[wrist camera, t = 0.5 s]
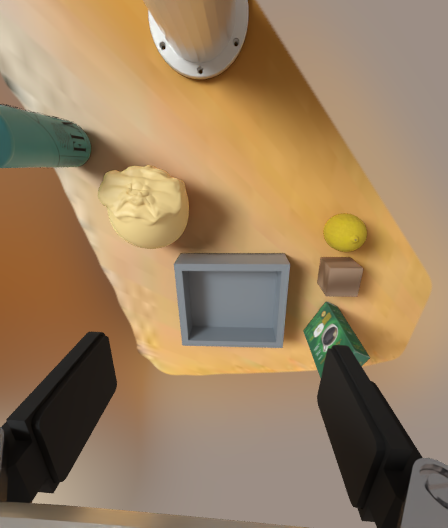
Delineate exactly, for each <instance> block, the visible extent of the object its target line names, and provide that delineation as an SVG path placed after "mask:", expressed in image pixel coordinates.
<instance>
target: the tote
mask: <svg viewBox="0 0 448 528" xmlns="http://www.w3.org/2000/svg"><path fill="white" fill-rule="evenodd" d="M174 270H175V279H176V289H177V298H178V308H179V317H180V327H181V336H182V345H185V346H227V347H268V348H283V337H284V326H285V315H286V304H287V293H288V282H289V271H290V263H289V261H288V259H287V257H286V255H285V253H181V254H180V255H179V257H178V258H177V260H176V261H175V263H174Z"/></svg>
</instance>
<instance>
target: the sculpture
mask: <svg viewBox="0 0 448 528" xmlns="http://www.w3.org/2000/svg"><path fill="white" fill-rule="evenodd" d="M98 198H99V200H100V202H101V203H102V204H103V205H104V206H106V207H107V210H108V215H109V219H110V222H111V224H112V226H113V228H114V230H115V231H116V233H117V234H118V235H119V236H120V237H121V238H122V239H124V240H125V241H126V242H128V243H130V244H132V245H134V246H137V247H141V248H147V249H155V248H161V247H165V246H168V245H170V244H172V243H173V242H175V241H176V240H177V239H178V238H179V237H180V236H181V235H182V233H183V232H184V230H185V228H186V225H187V222H188V217H189V202H188V196H187V193H186V189H185V183H184V182H183V181H182V180H179V179H177V178H173V177H172V176H170V175H169V174H168V173H167V172H166V171H164V170H161V169H158V168H156V167H155V166H151V165H147V166H145V167H140V166H131V167H128V168H127V169H126V170H124V171H122V172H119V171H117V170H112V171H109V172H107V173H106V174H105V175H104V178H103V182H102V183H101V185H100V187H99V190H98Z"/></svg>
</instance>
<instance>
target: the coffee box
mask: <svg viewBox="0 0 448 528" xmlns="http://www.w3.org/2000/svg"><path fill="white" fill-rule="evenodd" d="M303 331H304V334H305V337H306V339H307V342H308V345H309V347H310V350H311V353H312V356H313V359H314V361H315V364H316V367H317V370H318V372H319V375H320V378H321V376H322V371H323V367H324V362H325V357H326V353H327V349H328V348H331V347H332V345H346V346H349V347H350V349H351V351H352V352H353V354H354V355H355V357H356V359H357V360H358V362H359V363H360V365H361V366H362V365H363V364H364V363H365V362H366V361H367V360H368V359H369V358H370V356H369V355H368V353H367V352H366V350H365V349H364V347H363V346H362V344H361V342H360V341H359V339H358V338H357V336H356V335H355V333H354V332H353V330H352V328H351V327H350V325H349V324H348V322H347V321H346V319H345V318H344V316H343V315H342V313H341V311H340V310H339V308H338V307H337V306H335V305H333V304H331V303H329V302H325V303H324V305H323V306H322V307H321V308H320V309H319V311H318V313H317V314H316V315H315V316H314V318H313V319H312V320H311V322H310V323H309V324H308V325H307V327H306V328H305V329H304V330H303Z"/></svg>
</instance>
